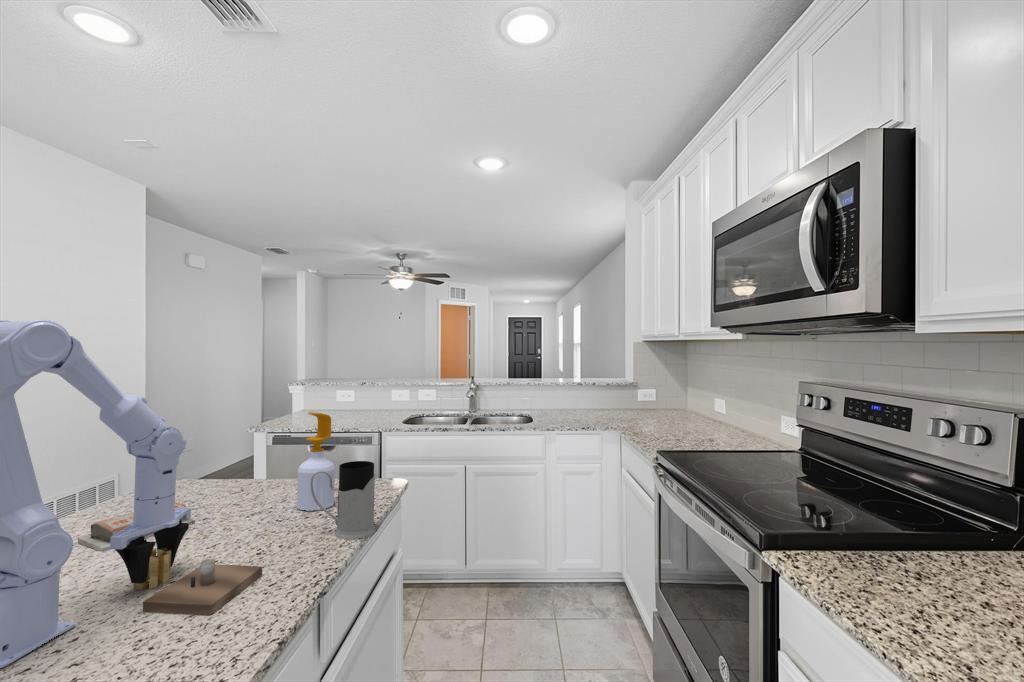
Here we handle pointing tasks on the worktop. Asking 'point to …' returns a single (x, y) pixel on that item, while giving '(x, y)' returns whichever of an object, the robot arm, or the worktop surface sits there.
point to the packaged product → (113, 530)
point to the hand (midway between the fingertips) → (152, 574)
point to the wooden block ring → (157, 569)
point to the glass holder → (353, 500)
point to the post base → (203, 589)
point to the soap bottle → (315, 465)
